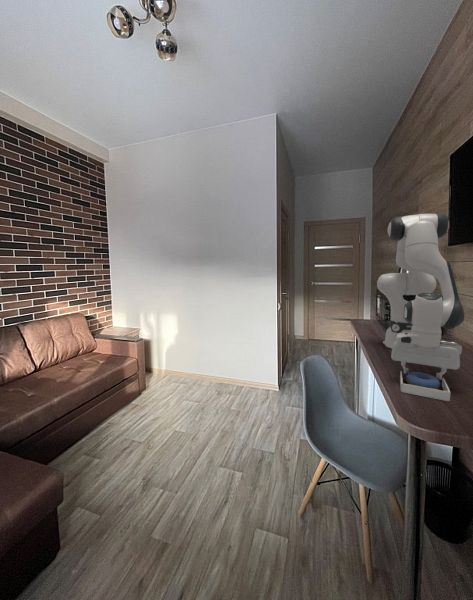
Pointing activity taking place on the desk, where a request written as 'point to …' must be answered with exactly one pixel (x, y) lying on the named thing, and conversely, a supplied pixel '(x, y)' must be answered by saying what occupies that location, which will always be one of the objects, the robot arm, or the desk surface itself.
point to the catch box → (426, 390)
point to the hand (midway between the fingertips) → (421, 375)
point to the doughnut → (422, 380)
